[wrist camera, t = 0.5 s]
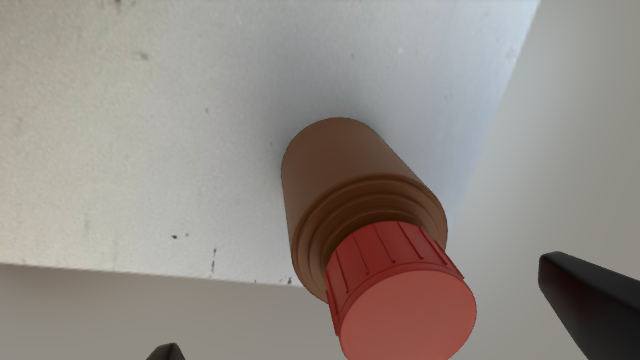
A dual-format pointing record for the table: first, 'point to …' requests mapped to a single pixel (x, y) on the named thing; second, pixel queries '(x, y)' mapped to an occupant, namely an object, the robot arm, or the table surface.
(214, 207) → the table surface
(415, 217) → the bottle
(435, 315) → the cap
